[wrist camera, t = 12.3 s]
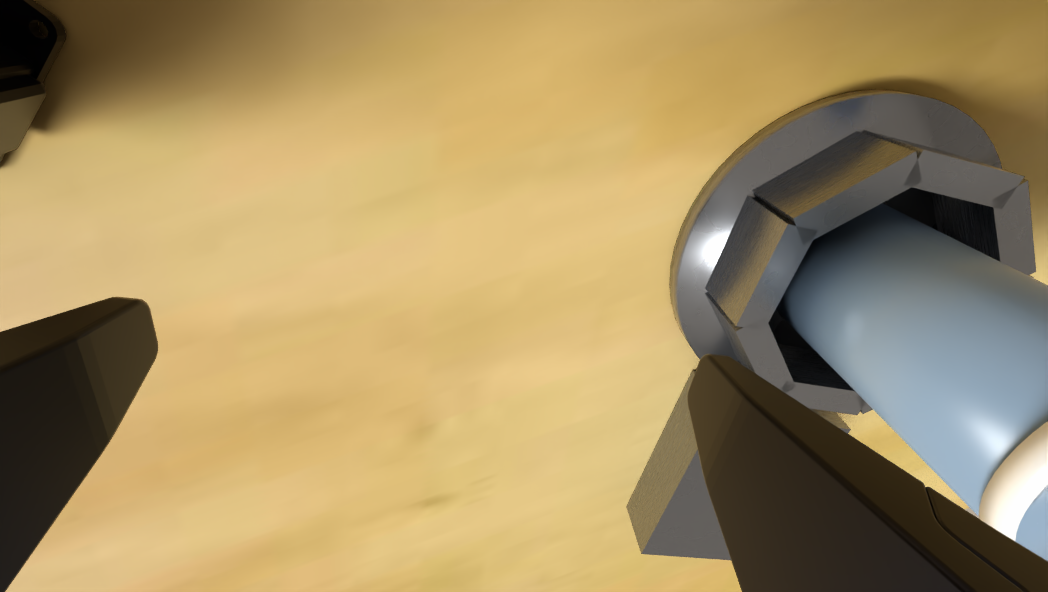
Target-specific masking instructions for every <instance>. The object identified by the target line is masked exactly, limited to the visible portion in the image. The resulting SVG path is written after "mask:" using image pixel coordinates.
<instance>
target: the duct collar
mask: <svg viewBox="0 0 1048 592" xmlns="http://www.w3.org/2000/svg"><path fill="white" fill-rule="evenodd" d="M1024 177H1025V176H1021V175H1018V174H1015V173H1012V172H1009V171H1006V170H1003V169H1002V167H1001V162H1000V159H999V157H998V155H997V152H996V150H995V147H994V145H993V143H992V142H991V140H990V139H989V137H988V136H987V134H986V133H985V131H984V130H983V129H982V128H981V127H980V126H979V125H978V124H977V123H976V122H975V121H974V120H973V119H972V118H971V117H970V116H968V115H967V114H965V113H963V112H962V111H960V110H959V109H957V108H956V107H954V106H952V105H949V104H946V103H944V102H941V101H939V100H936V99H933V98H928V97H924V96H919V95H915V94H910V93H904V92H899V91H894V90H865V91H856V92H848V93H844V94H840V95H835V96H831V97H827V98H824V99H821V100H819V101H816V102H813V103H811V104H808V105H805V106H803V107H800V108H798V109H796V110H794V111H793V112H791V113H789V114H787V115H785V116H783V117H781V118H779V119H777V120H776V121H774V122H773V123H771V124H770V125H768V126H767V127H765V128H764V129H762V130H761V131H759V132H758V133H756V134H755V135H754V136H752V137H751V138H750V139H749V140H748V141H746V142H745V143H744V144H743V145H742V146H740V147H739V148H738V149H737V150H736V151H735V152H734V153H733V154H732V155H731V156H730V157H729V158H728V159H727V160H726V161H725V162H724V163H723V164H722V165H721V166H720V167H719V168H718V169H717V170H716V172H715V173H714V174H713V176H712V177H711V178H710V179H709V181H708V182H707V183H706V184H705V186H704V187H703V188H702V190H701V192H700V193H699V195H698V196H697V198H696V200H695V201H694V203H693V204H692V206H691V208H690V210H689V212H688V214H687V216H686V218H685V220H684V222H683V224H682V226H681V229H680V232H679V235H678V238H677V241H676V244H675V247H674V251H673V256H672V261H671V266H670V284H669V285H670V296H671V304H672V308H673V312H674V315H675V319H676V321H677V323H678V325H679V328H680V330H681V332H682V334H683V335H684V337H685V338H686V340H687V341H688V343H689V345H690V346H691V348H692V349H693V351H694V352H695V354H696V355H697V357H698V358H699V359H701V358H702V357H703V356H704V355H706V354H717V355H726V356H729V357H731V358H733V359H734V360H736V361H737V362H739V363H740V364H742V365H743V366H745V367H746V368H748V369H749V370H751V371H752V372H754V373H756V374H757V375H759V376H760V377H762V378H763V379H765V380H766V381H768V382H769V383H771V384H772V385H774V386H775V387H777V388H779V389H780V390H782V391H783V392H785V393H786V394H788V395H789V396H791V397H792V398H794V399H795V400H797V401H798V402H800V403H801V404H803V405H805V406H806V407H808V408H809V409H811V410H812V411H814V412H815V413H817V414H818V415H820V416H821V417H823V418H824V419H826V420H828V421H829V422H831V423H832V424H834V425H835V426H837V427H838V428H840V429H841V430H843V431H844V432H846V433H847V434H848V433H849V431H850V430H851V429H850V428H849V427H848V426H847V425H846V424H845V422H844V421H843V420H842V419H841V418H840V417H839V416H838V414H837V413H836V412H839V413H846V414H853V415H858V413H859V412H860V411H861V412H862V413H863V414H864V413H866V412H868V411H871V410H873V409H872V408H871V407H870V406H869V405H868V404H867V403H866V402H865V401H864V400H863V399H862V398H861V397H860V396H859V395H858V394H857V392H856V391H855V390H854V389H853V388H852V387H851V386H850V385H849V384H848V383H847V382H846V381H845V380H844V379H843V378H842V377H841V376H840V375H839V374H838V373H837V372H836V371H835V370H834V369H833V368H832V367H831V366H830V365H829V364H828V363H827V362H826V361H825V360H824V359H823V358H822V357H821V356H820V355H819V354H818V353H817V352H816V351H815V350H814V349H813V348H812V347H811V346H810V345H809V344H808V343H807V342H806V341H805V340H804V339H803V338H802V337H801V336H800V335H799V334H798V333H797V332H796V331H795V330H794V328H793V327H792V326H791V325H790V324H789V323H788V322H787V321H786V320H785V319H784V318H783V317H782V316H781V315H780V314H779V313H778V312H777V311H776V310H775V309H776V308H777V306H778V304H779V302H780V300H781V298H782V296H783V295H784V293H785V291H786V289H787V287H788V285H789V284H790V282H791V280H792V278H793V276H794V274H795V272H796V271H797V269H798V267H799V265H800V263H801V261H802V259H803V258H804V256H805V254H806V252H807V250H808V248H809V247H810V245H811V243H812V241H813V240H814V239H816V238H818V237H820V236H822V235H823V234H825V233H827V232H829V231H831V230H833V229H835V228H836V227H838V226H840V225H842V224H844V223H846V222H848V221H850V220H851V219H853V218H855V217H857V216H859V215H861V214H863V213H864V212H866V211H868V210H870V209H872V208H874V207H876V206H878V205H879V204H881V203H883V204H885V205H887V206H889V207H891V208H893V209H895V210H897V211H899V212H901V213H903V214H905V215H907V216H909V217H911V218H913V219H915V220H917V221H919V222H921V223H923V224H925V225H927V226H929V227H931V228H933V229H935V230H937V231H939V232H941V233H943V234H945V235H947V236H949V237H951V238H953V239H955V240H957V241H959V242H961V243H963V244H965V245H967V246H969V247H971V248H973V249H975V250H977V251H979V252H981V253H983V254H985V255H987V256H989V257H991V258H993V259H995V260H997V261H999V262H1001V263H1003V264H1005V265H1007V266H1009V267H1011V268H1013V269H1015V270H1018V271H1020V272H1022V273H1024V274H1026V275H1028V276H1030V274H1032V273H1034V272H1036V265H1035V254H1034V243H1033V231H1032V220H1031V209H1030V198H1029V186H1028V180H1025V179H1023V178H1024ZM1030 277H1032V276H1030ZM1032 278H1034V277H1032ZM695 372H696V371H692V373H691V375H690V377H689V379H688V381H687V383H686V385H685V387H684V389H683V391H682V393H681V395H680V397H679V399H678V401H677V404H676V406H675V408H674V410H673V412H672V414H671V416H670V418H669V420H668V422H667V424H666V426H665V428H664V430H663V432H662V434H661V437H660V439H659V441H658V443H657V445H656V447H655V449H654V451H653V453H652V455H651V457H650V459H649V461H648V463H647V465H646V467H645V470H644V472H643V474H642V476H641V478H640V480H639V482H638V484H637V486H636V488H635V490H634V492H633V494H632V496H631V498H630V500H629V503H628V505H627V510H628V513H629V516H630V519H631V522H632V526H633V529H634V532H635V535H636V538H637V542H638V545H639V548H640V551H641V554H650V555H665V556H679V557H693V558H707V559H721V560H731V558H730V555H729V552H728V549H727V546H726V543H725V540H724V537H723V534H722V531H721V528H720V525H719V522H718V519H717V516H716V513H715V510H714V508H713V505H712V502H711V499H710V496H709V493H708V489H707V486H706V483H705V479H704V476H703V472H702V467H701V463H700V458H699V454H698V449H697V445H696V440H695V436H694V431H693V426H692V422H691V417H690V413H689V408H688V403H687V395H688V390H689V387H690V385H691V382H692V379H693V377H694V374H695Z"/></svg>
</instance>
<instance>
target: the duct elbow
mask: <svg viewBox="0 0 1048 592" xmlns="http://www.w3.org/2000/svg"><path fill="white" fill-rule="evenodd" d="M775 310H776V311H777V312H778V313H779V314H780V315H781V316H782V317H783V318H784V319H785V320H786V321H787V322H788V323H789V324H790V325H791V326H792V327H793V328H794V330H795V331H796V332H797V333H798V334H799V335H800V336H801V337H802V338H803V339H804V340H805V341H806V342H807V343H808V344H809V345H810V346H811V347H812V348H813V349H814V350H815V351H816V352H817V353H818V354H819V355H820V356H821V357H822V358H823V359H824V360H825V361H826V362H827V363H828V364H829V365H830V366H831V367H832V368H833V369H834V370H835V371H836V372H837V373H838V374H839V375H840V376H841V377H842V378H843V379H844V380H845V381H846V382H847V383H848V384H849V385H850V386H851V387H852V388H853V389H854V390H855V391H856V392H857V394H858V395H859V396H860V397H861V398H862V399H863V400H864V401H865V402H866V403H867V404H868V405H869V406H870V407H871V408H872V409H873V410H874V411H875V412H876V413H877V414H878V415H879V416H880V417H881V418H882V419H883V420H884V421H885V422H886V423H887V424H888V425H889V426H890V427H891V428H892V429H893V430H894V431H895V432H896V433H897V434H898V435H899V436H900V437H901V438H902V439H903V440H904V441H905V442H906V443H907V444H908V445H909V446H910V447H911V448H912V449H913V450H914V451H915V452H916V453H917V454H918V455H919V456H920V458H921V459H922V460H923V461H924V462H925V463H926V464H927V465H928V466H929V467H930V468H931V469H932V470H933V471H934V472H935V473H936V474H937V475H938V476H939V477H940V478H941V479H942V480H943V481H944V482H945V483H946V484H947V485H948V486H949V487H950V488H951V489H952V490H953V491H954V492H955V493H956V494H957V495H958V496H959V497H960V498H961V499H962V500H963V501H964V502H965V503H966V504H967V505H968V506H969V507H970V508H971V509H972V510H973V511H974V512H975V513H976V514H977V515H978V516H979V519H980V520H982V521H983V522H985V523H986V524H988V525H989V526H991V527H993V528H994V529H996V530H997V531H999V532H1001V533H1002V534H1004V535H1006V536H1007V537H1009V538H1011V539H1012V540H1014V541H1015V542H1017V543H1019V544H1020V545H1022V546H1024V547H1025V548H1027V549H1029V550H1030V551H1032V552H1034V553H1035V554H1037V555H1039V556H1040V557H1042V558H1044V559H1045V560H1047V561H1048V285H1046V284H1044V283H1042V282H1040V281H1038V280H1036V279H1034V278H1032V277H1030V276H1028V275H1026V274H1024V273H1022V272H1020V271H1018V270H1015V269H1013V268H1011V267H1009V266H1007V265H1005V264H1003V263H1001V262H999V261H997V260H995V259H993V258H991V257H989V256H987V255H985V254H983V253H981V252H979V251H977V250H975V249H973V248H971V247H969V246H967V245H965V244H963V243H961V242H959V241H957V240H955V239H953V238H951V237H949V236H947V235H945V234H943V233H941V232H939V231H937V230H935V229H933V228H931V227H929V226H927V225H925V224H923V223H921V222H919V221H917V220H915V219H913V218H911V217H909V216H907V215H905V214H903V213H901V212H899V211H897V210H895V209H893V208H891V207H889V206H887V205H885V204H883V203H881V204H879V205H878V206H876V207H874V208H872V209H870V210H868V211H866V212H864V213H863V214H861V215H859V216H857V217H855V218H853V219H851V220H850V221H848V222H846V223H844V224H842V225H840V226H838V227H836V228H835V229H833V230H831V231H829V232H827V233H825V234H823V235H822V236H820V237H818V238H816V239H814V240H813V241H812V243H811V245H810V247H809V248H808V250H807V252H806V254H805V256H804V258H803V259H802V261H801V263H800V265H799V267H798V269H797V271H796V272H795V274H794V276H793V278H792V280H791V282H790V284H789V285H788V287H787V289H786V291H785V293H784V295H783V296H782V298H781V300H780V302H779V304H778V306H777V308H776V309H775Z"/></svg>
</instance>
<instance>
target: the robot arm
mask: <svg viewBox="0 0 1048 592" xmlns="http://www.w3.org/2000/svg"><path fill="white" fill-rule="evenodd" d="M39 21H40V22H42V23H43V24H44V25H45V26H46V27H47V30H48V36H47V37H46V36H44V35H43V34H42V33H41V32H40V30H39V28H38V23H39ZM65 38H66V33H65V28H64V27H63V25H62V23H61V22H60V21H59V20H58V19H57V18H56V17H55V16H54V15H53V14H51V13H50V12H49V11H47V10H46V9H45V8H43V7H42V6H40V5H39V4H38V3H36V2H35V1H33V0H0V162H1V161H2V159H3V157H4V155H5V153H7V152H10V151H13V150H16V149H17V148H18V147H19V145H20V143H21V141H22V139H23V137H24V136H25V134H26V132H27V130H28V128H29V126H30V124H31V122H32V121H33V119H34V117H35V115H36V113H37V111H38V109H39V108H40V106H41V104H42V102H43V100H44V98H45V96H46V90H45V86H44V84H43V81H44V79H45V77H46V75H47V74H48V72H49V70H50V68H51V66H52V64H53V62H54V60H55V58H56V57H57V55H58V53H59V51H60V49H61V47H62V45H63V43H64V41H65ZM157 352H158V341H157V337H156V333H155V328H154V324H153V320H152V316H151V311H150V308H149V306H148V304H147V303H146V302H145V301H143V300H141V299H134V298H124V297H111V298H108V299H105V300H102V301H98V302H95V303H92V304H89V305H85V306H82V307H79V308H76V309H73V310H69V311H66V312H63V313H60V314H57V315H53V316H50V317H47V318H44V319H41V320H37V321H34V322H31V323H28V324H25V325H21V326H18V327H15V328H12V329H9V330H5V331H2V332H0V592H5V591H6V590H7V588H8V587H9V586H10V584H11V583H12V581H13V580H14V578H15V577H16V576H17V574H18V573H19V571H20V570H21V568H22V567H23V566H24V564H25V563H26V561H27V560H28V558H29V557H30V556H31V554H32V553H33V551H34V550H35V548H36V547H37V546H38V544H39V543H40V541H41V540H42V538H43V537H44V536H45V534H46V533H47V531H48V530H49V528H50V527H51V526H52V524H53V523H54V521H55V520H56V518H57V517H58V516H59V514H60V513H61V511H62V510H63V508H64V507H65V506H66V504H67V503H68V501H69V500H70V499H71V497H72V496H73V494H74V493H75V491H76V490H77V489H78V487H79V486H80V484H81V483H82V481H83V480H84V479H85V477H86V476H87V474H88V473H89V471H90V470H91V469H92V467H93V466H94V464H95V463H96V461H97V460H98V459H99V457H100V456H101V454H102V453H103V451H104V450H105V448H106V447H107V445H108V444H109V442H110V440H111V439H112V437H113V435H114V434H115V432H116V430H117V429H118V427H119V425H120V423H121V421H122V420H123V418H124V416H125V414H126V412H127V410H128V409H129V407H130V405H131V403H132V401H133V399H134V398H135V396H136V394H137V392H138V390H139V388H140V387H141V385H142V383H143V381H144V379H145V377H146V376H147V374H148V372H149V370H150V368H151V366H152V365H153V363H154V361H155V359H156V356H157ZM687 403H688V408H689V413H690V417H691V422H692V426H693V431H694V436H695V440H696V445H697V449H698V454H699V458H700V463H701V467H702V472H703V476H704V479H705V483H706V486H707V489H708V493H709V496H710V499H711V502H712V505H713V508H714V510H715V513H716V516H717V519H718V522H719V525H720V528H721V531H722V534H723V537H724V540H725V543H726V546H727V549H728V552H729V555H730V558H731V561H732V564H733V566H734V569H735V572H736V575H737V578H738V581H739V584H740V587H741V590H742V592H1048V561H1047V560H1045V559H1044V558H1042V557H1040V556H1039V555H1037V554H1035V553H1034V552H1032V551H1030V550H1029V549H1027V548H1025V547H1024V546H1022V545H1020V544H1019V543H1017V542H1015V541H1014V540H1012V539H1011V538H1009V537H1007V536H1006V535H1004V534H1002V533H1001V532H999V531H997V530H996V529H994V528H993V527H991V526H989V525H988V524H986V523H985V522H983V521H982V520H980V519H978V518H977V517H975V516H974V515H972V514H970V513H969V512H967V511H966V510H964V509H963V508H961V507H960V506H958V505H956V504H955V503H953V502H952V501H950V500H949V499H947V498H946V497H944V496H943V495H941V494H940V493H938V492H937V491H935V490H934V489H932V488H930V487H925V485H924V483H923V482H921V481H919V480H918V479H916V478H915V477H913V476H912V475H910V474H909V473H907V472H906V471H904V470H903V469H901V468H900V467H898V466H896V465H895V464H893V463H892V462H890V461H889V460H887V459H886V458H884V457H883V456H881V455H880V454H878V453H877V452H875V451H874V450H872V449H870V448H869V447H867V446H866V445H864V444H863V443H861V442H860V441H858V440H857V439H855V438H854V437H852V436H851V435H849V434H847V433H846V432H844V431H843V430H841V429H840V428H838V427H837V426H835V425H834V424H832V423H831V422H829V421H828V420H826V419H824V418H823V417H821V416H820V415H818V414H817V413H815V412H814V411H812V410H811V409H809V408H808V407H806V406H805V405H803V404H801V403H800V402H798V401H797V400H795V399H794V398H792V397H791V396H789V395H788V394H786V393H785V392H783V391H782V390H780V389H779V388H777V387H775V386H774V385H772V384H771V383H769V382H768V381H766V380H765V379H763V378H762V377H760V376H759V375H757V374H756V373H754V372H752V371H751V370H749V369H748V368H746V367H745V366H743V365H742V364H740V363H739V362H737V361H736V360H734V359H733V358H731V357H729V356H726V355H717V354H706V355H704V356H703V357H702V358H701V359H700V361H699V364H698V366H697V369H696V372H695V374H694V377H693V379H692V382H691V385H690V387H689V390H688V395H687Z"/></svg>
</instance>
